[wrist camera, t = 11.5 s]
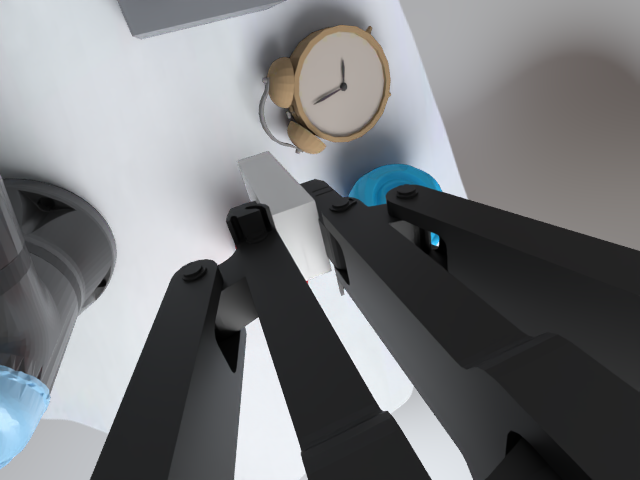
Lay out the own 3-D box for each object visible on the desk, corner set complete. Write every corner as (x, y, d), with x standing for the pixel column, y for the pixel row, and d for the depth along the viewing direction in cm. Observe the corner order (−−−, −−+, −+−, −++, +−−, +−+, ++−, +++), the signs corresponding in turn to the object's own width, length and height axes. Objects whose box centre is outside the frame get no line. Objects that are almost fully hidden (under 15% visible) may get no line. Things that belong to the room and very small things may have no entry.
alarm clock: (403, 111, 42) (298, 180, 38) (377, 109, 46) (280, 171, 42) (374, 3, 35) (246, 73, 32) (347, 11, 39) (230, 75, 36)
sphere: (409, 145, 47) (470, 169, 37) (414, 221, 53) (468, 259, 43) (323, 172, 44) (365, 206, 35) (338, 249, 50) (378, 296, 41)
